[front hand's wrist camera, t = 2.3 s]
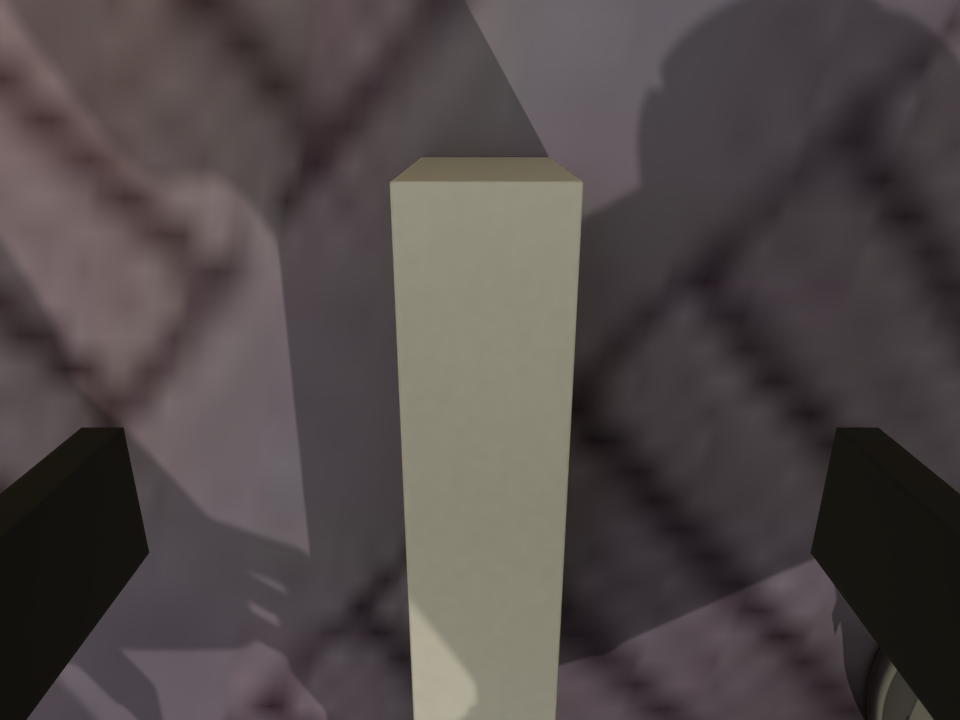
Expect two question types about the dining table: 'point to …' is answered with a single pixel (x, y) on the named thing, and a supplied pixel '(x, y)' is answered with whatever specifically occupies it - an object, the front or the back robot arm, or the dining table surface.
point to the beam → (485, 425)
